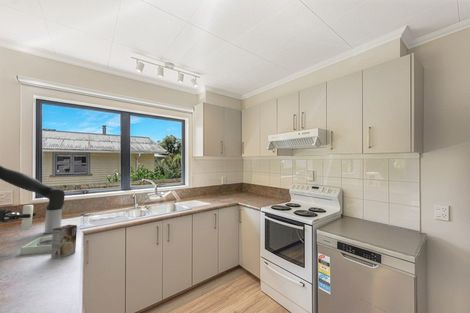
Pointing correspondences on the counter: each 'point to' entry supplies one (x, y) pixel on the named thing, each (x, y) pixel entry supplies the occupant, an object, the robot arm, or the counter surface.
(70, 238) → the coffee box
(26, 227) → the white cylinder
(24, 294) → the counter surface
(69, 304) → the counter surface
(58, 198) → the robot arm
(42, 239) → the sage box
